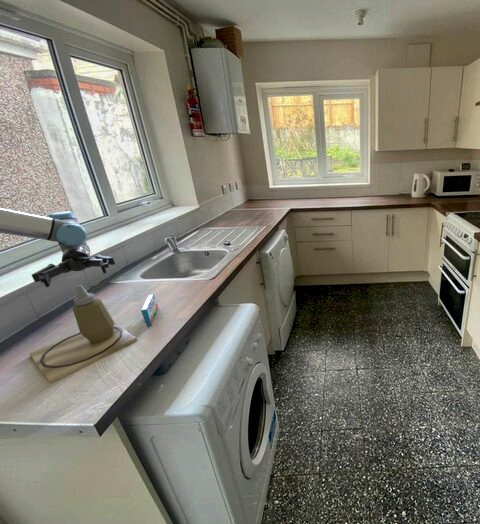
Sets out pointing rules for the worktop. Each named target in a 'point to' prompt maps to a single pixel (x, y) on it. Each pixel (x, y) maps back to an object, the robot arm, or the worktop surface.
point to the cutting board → (77, 352)
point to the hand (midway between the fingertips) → (76, 275)
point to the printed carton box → (150, 310)
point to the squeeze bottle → (92, 316)
